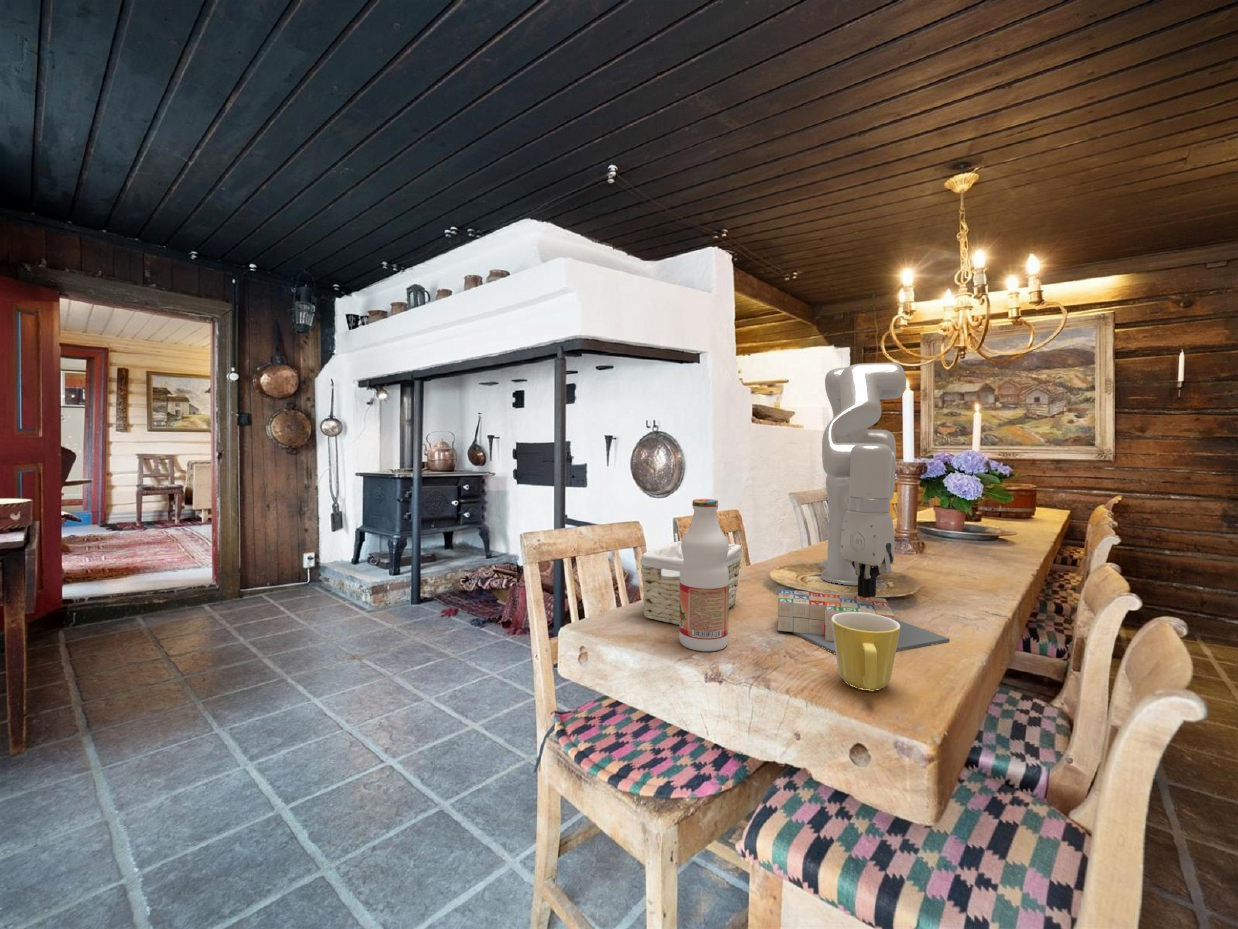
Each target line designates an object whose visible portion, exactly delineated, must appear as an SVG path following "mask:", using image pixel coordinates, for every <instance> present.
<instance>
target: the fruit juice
mask: <svg viewBox="0 0 1238 929" xmlns="http://www.w3.org/2000/svg"><path fill="white" fill-rule="evenodd" d="M691 505H692V509H693V515H692V518H691V522H690V525H689V527H688V530H687V531H686V533H685V534H684V535H683V537H682V539H681V541H682V542H681V551H682V555H683V563H682V566H681V570H680V617H679V627H678V628H679V630H678V631H679V633H678V638H679V643H680V644H681V645H682V646H683V647H684V648H687V649H690V650H693V651H696V652H716V651H721V650H723V649H725V648H726V647H727V645H728V642H729V609H730V608H729V571H728V567H727V565H726V558H727V555H728V551H729V544H730V543H729V541H728V538H727V536H726V535H725V533H724V532H723V530H722V527H721V526H720V522H719V518H718V515H717V514H718V513H717V510H719V500H717V499H713V498H696V499H693V500H692V504H691Z"/></svg>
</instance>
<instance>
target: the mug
mask: <svg viewBox="0 0 1238 929" xmlns="http://www.w3.org/2000/svg"><path fill="white" fill-rule="evenodd" d="M831 623H832V631H833V638H834V645H835V652H836V655H835V657H836V665H837V666H836V668H837V672H838V674H839V676H840V677H841V679H842V680H843V681H844V682H845V683H846V682H847V683H848V684H851V685H853V686H855V687H857V688H863V689H870V690H876V689H881V688H883V689H884V688H885V687H886V686H888V685H889V683H890V682H891V680H892V675H893V674H892V673H893V668H894V663H895V657H896V653H897V651H896V649H897V644H898V638H899V632H900V624H899V623H898V622H896V621H895V620H892V619H890V618H887V617H884V616H880V615H876V614H870V613H862V612H844V613H838V614H835V615H834V616H832V618H831ZM848 684H847V685H848ZM881 690H882V689H881Z"/></svg>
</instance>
